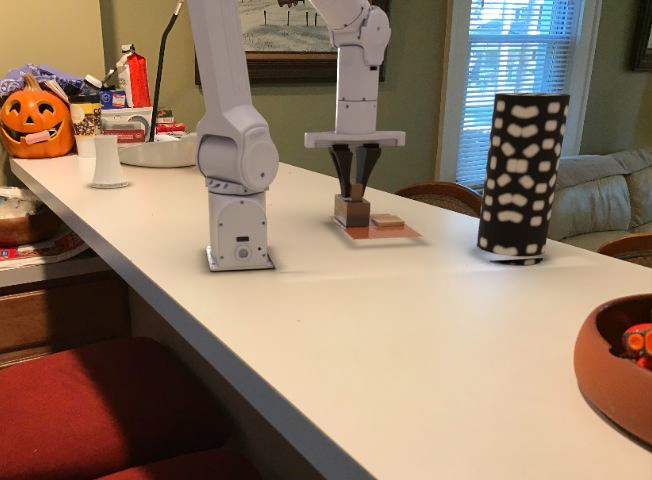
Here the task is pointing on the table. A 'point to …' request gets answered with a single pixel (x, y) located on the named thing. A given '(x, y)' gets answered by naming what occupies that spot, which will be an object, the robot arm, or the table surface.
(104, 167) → the vase
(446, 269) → the table surface
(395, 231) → the tile
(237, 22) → the robot arm
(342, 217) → the brown stepped wooden block
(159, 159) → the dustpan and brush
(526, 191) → the white-spotted black cylinder
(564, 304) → the table surface
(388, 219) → the bread slice
